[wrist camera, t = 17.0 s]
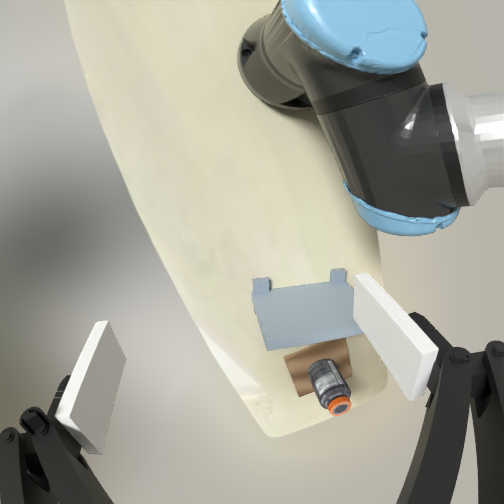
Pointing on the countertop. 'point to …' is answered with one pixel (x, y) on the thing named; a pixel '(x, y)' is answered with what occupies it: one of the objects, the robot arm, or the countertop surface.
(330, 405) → the pill bottle
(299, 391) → the plinth
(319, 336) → the screen
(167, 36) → the countertop surface
